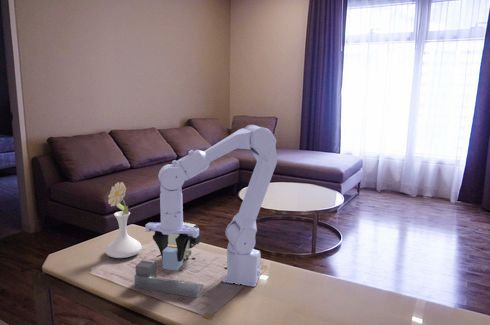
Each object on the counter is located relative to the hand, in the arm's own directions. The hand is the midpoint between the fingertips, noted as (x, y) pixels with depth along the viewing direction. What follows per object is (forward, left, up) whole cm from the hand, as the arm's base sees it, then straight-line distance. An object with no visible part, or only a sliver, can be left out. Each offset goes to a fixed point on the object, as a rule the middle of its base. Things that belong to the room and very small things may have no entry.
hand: (172, 258), depth 96 cm
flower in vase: (+24, -14, -9) cm, 29 cm away
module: (0, 0, -2) cm, 2 cm away
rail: (+1, +1, -8) cm, 9 cm away
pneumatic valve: (+5, -18, -9) cm, 21 cm away
